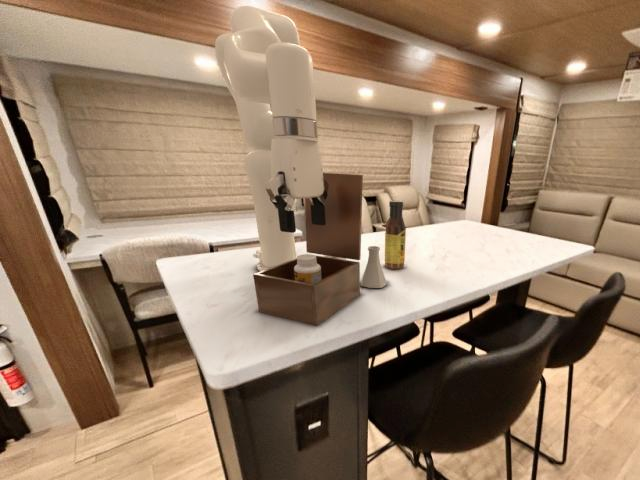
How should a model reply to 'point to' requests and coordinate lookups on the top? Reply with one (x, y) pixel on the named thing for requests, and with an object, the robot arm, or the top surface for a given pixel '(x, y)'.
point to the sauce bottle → (395, 237)
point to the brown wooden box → (307, 290)
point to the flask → (373, 270)
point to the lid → (338, 219)
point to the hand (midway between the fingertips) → (304, 228)
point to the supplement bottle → (307, 269)
